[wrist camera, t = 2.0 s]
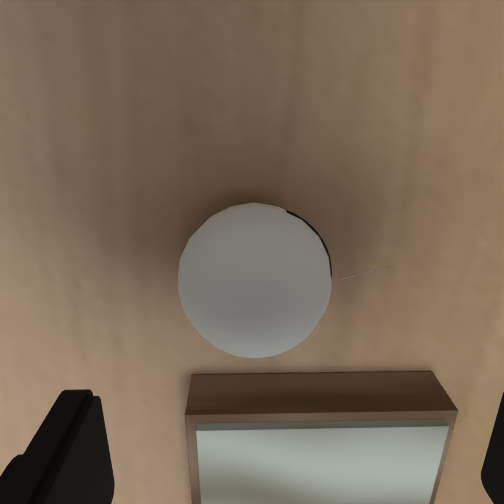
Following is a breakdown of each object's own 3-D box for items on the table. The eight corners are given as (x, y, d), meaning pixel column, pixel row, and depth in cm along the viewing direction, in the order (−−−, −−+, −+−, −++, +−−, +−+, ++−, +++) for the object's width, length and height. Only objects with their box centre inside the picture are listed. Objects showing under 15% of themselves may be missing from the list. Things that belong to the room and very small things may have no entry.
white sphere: (186, 304, 18) (165, 392, 13) (188, 181, 16) (163, 228, 11) (351, 313, 19) (394, 401, 13) (374, 194, 16) (437, 245, 11)
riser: (191, 374, 20) (183, 422, 17) (431, 371, 20) (462, 417, 17) (202, 521, 24) (196, 579, 21) (400, 517, 24) (420, 572, 21)
